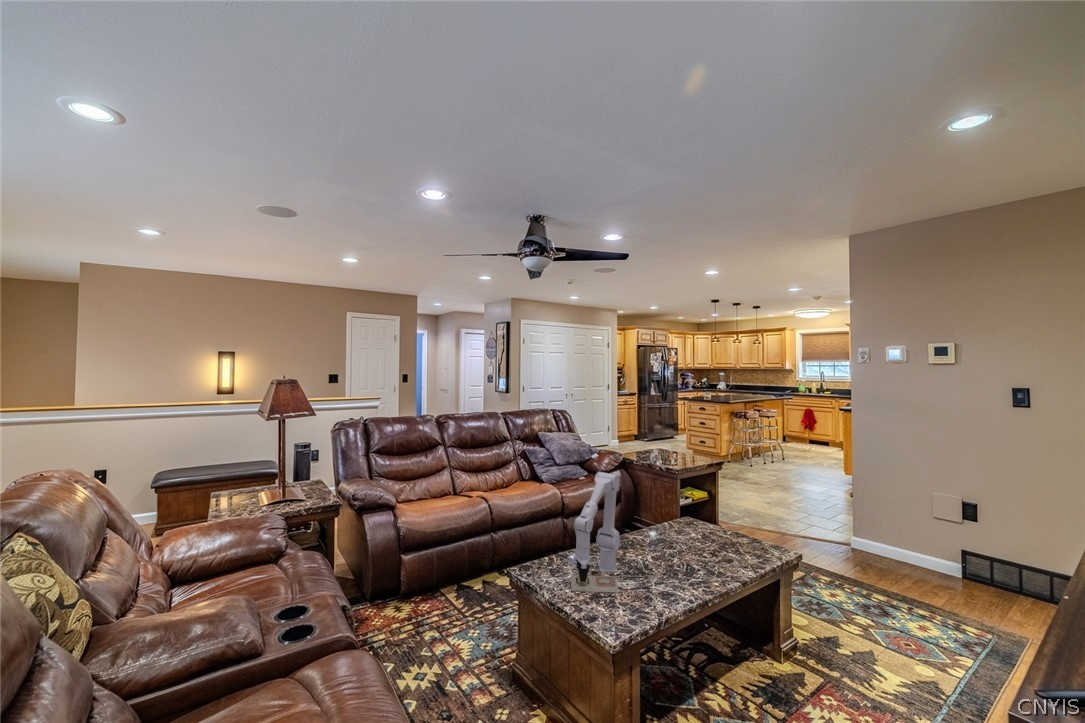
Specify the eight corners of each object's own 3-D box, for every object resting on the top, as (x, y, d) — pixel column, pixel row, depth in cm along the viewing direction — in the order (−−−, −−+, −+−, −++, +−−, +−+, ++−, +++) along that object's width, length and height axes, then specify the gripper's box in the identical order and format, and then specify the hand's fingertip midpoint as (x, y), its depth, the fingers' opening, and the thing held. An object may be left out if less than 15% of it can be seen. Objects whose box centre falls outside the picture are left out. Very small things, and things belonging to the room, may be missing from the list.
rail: (570, 579, 194) (570, 574, 194) (614, 581, 194) (614, 575, 194) (571, 591, 184) (571, 585, 184) (618, 592, 184) (618, 587, 184)
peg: (577, 583, 191) (577, 564, 191) (586, 583, 191) (587, 564, 191) (578, 587, 187) (578, 568, 187) (587, 588, 187) (587, 568, 187)
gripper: (572, 539, 197) (572, 570, 196) (574, 552, 182) (573, 586, 182) (588, 539, 197) (588, 571, 196) (591, 553, 182) (591, 587, 182)
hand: (582, 578), depth 189 cm, fingers open, 5 cm apart
